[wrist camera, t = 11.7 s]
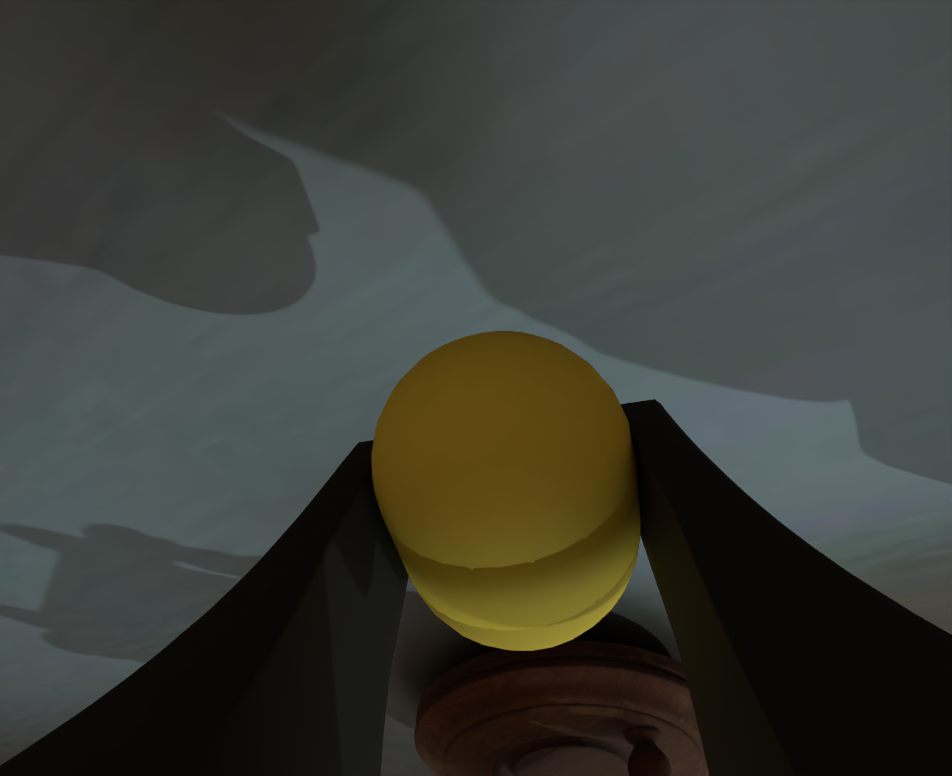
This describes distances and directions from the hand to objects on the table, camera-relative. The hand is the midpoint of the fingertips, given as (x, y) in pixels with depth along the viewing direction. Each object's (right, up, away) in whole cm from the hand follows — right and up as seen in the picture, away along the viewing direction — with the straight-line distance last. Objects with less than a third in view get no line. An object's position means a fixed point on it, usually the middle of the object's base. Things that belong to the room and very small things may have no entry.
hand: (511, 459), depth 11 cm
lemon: (0, +1, +1) cm, 1 cm away
